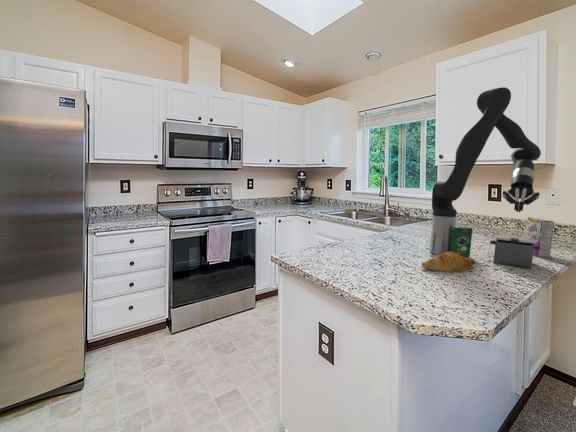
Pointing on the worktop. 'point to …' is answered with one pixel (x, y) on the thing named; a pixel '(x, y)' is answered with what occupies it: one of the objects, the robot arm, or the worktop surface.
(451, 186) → the robot arm
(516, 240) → the lid
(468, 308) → the worktop surface
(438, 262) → the croissant
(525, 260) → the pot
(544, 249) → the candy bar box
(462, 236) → the coffee box
